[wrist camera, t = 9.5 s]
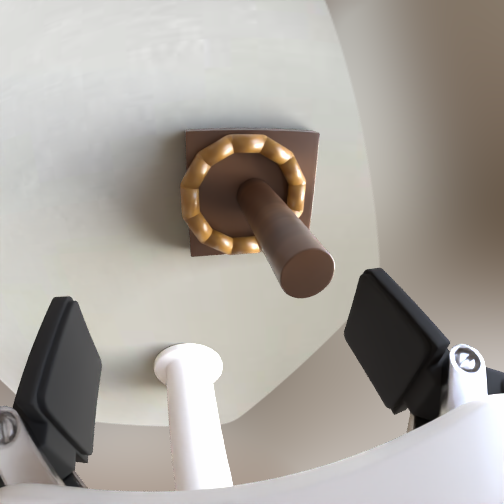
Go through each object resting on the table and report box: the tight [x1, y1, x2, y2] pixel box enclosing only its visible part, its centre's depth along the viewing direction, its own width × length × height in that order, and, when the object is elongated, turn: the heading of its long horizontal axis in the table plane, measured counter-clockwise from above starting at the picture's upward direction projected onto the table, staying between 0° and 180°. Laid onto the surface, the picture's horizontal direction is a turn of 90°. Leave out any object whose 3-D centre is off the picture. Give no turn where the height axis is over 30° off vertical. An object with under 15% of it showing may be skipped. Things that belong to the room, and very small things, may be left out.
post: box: [186, 128, 335, 298], centre depth 17 cm, size 9×9×11 cm
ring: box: [180, 134, 306, 255], centre depth 20 cm, size 8×8×1 cm
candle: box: [154, 343, 233, 491], centre depth 18 cm, size 7×7×25 cm
